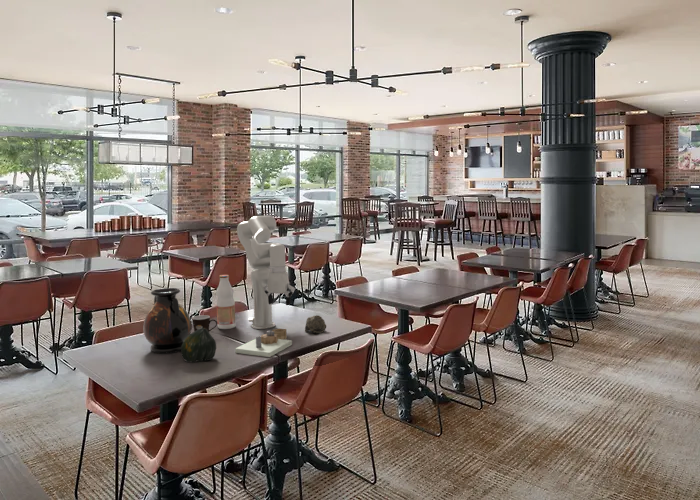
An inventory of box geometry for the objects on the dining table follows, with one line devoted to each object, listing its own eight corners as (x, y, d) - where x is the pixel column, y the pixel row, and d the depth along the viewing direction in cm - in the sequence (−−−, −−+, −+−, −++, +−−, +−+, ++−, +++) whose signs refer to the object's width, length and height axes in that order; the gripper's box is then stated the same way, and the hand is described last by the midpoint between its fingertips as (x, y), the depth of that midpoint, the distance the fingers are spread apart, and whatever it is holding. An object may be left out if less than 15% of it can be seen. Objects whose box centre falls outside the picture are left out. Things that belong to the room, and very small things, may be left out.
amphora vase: (202, 347, 263) (198, 289, 260) (160, 359, 247) (156, 297, 244) (177, 339, 278) (174, 284, 274) (136, 350, 262) (131, 291, 258)
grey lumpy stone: (317, 334, 280) (308, 316, 281) (305, 340, 285) (297, 322, 287) (330, 329, 288) (322, 311, 290) (318, 334, 294) (311, 317, 295)
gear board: (235, 352, 255) (234, 337, 254) (259, 340, 273) (259, 326, 272) (269, 357, 247) (268, 341, 247) (292, 344, 266) (291, 329, 265)
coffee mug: (189, 338, 280) (188, 318, 279) (201, 333, 288) (200, 314, 286) (207, 340, 275) (206, 320, 273) (219, 336, 282) (218, 316, 281)
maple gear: (269, 339, 275) (268, 331, 274) (276, 335, 281) (276, 328, 281) (282, 341, 272) (282, 333, 271) (289, 337, 278) (289, 329, 278)
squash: (170, 348, 244) (184, 326, 238) (197, 341, 257) (211, 320, 250) (187, 374, 239) (202, 352, 233) (213, 365, 252) (228, 344, 245)
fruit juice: (222, 330, 293) (220, 277, 290) (214, 327, 300) (211, 275, 297) (238, 327, 299) (236, 275, 296) (230, 323, 306) (228, 273, 303)
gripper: (258, 270, 272) (260, 304, 274) (289, 271, 266) (291, 306, 267) (266, 268, 279) (268, 301, 281) (297, 269, 272) (298, 303, 274)
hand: (279, 304), depth 274 cm, fingers open, 9 cm apart
